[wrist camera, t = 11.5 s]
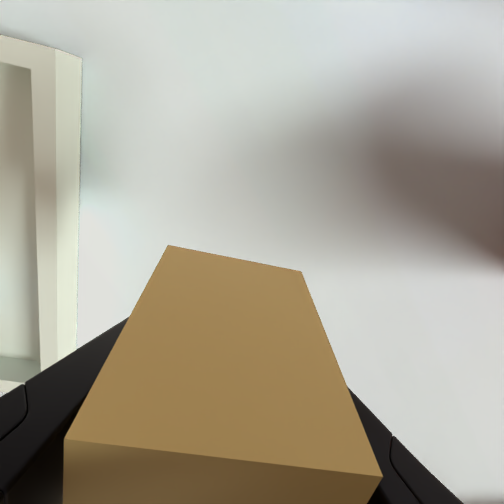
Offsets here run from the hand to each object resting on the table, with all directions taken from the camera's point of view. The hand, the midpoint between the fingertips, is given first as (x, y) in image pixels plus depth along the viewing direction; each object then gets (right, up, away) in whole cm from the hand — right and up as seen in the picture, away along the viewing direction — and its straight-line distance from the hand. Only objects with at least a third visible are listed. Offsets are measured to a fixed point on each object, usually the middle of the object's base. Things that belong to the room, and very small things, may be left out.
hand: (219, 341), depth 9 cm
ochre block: (0, +1, +1) cm, 1 cm away
